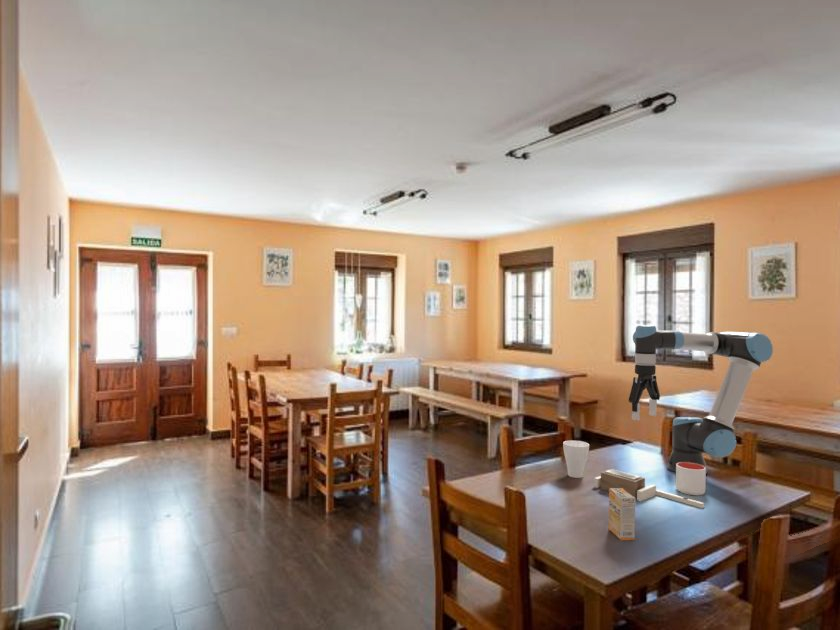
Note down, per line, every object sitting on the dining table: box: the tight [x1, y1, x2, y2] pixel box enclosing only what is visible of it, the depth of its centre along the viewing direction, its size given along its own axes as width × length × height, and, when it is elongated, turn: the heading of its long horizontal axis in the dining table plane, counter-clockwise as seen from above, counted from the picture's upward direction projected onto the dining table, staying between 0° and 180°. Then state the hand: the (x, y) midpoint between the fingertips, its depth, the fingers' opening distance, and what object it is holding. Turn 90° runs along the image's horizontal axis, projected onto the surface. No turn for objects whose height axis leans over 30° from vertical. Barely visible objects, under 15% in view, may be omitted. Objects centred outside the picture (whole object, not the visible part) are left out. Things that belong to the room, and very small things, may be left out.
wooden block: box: [600, 468, 646, 500], centre depth 196 cm, size 7×14×7 cm, turn 39°
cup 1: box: [562, 439, 590, 479], centre depth 214 cm, size 10×10×14 cm
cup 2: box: [675, 462, 707, 496], centre depth 197 cm, size 10×10×10 cm
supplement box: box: [608, 488, 636, 541], centre depth 158 cm, size 8×5×13 cm, turn 5°
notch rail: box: [593, 475, 705, 509], centre depth 191 cm, size 12×36×4 cm, turn 39°
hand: (644, 417), depth 204 cm, fingers open, 13 cm apart
